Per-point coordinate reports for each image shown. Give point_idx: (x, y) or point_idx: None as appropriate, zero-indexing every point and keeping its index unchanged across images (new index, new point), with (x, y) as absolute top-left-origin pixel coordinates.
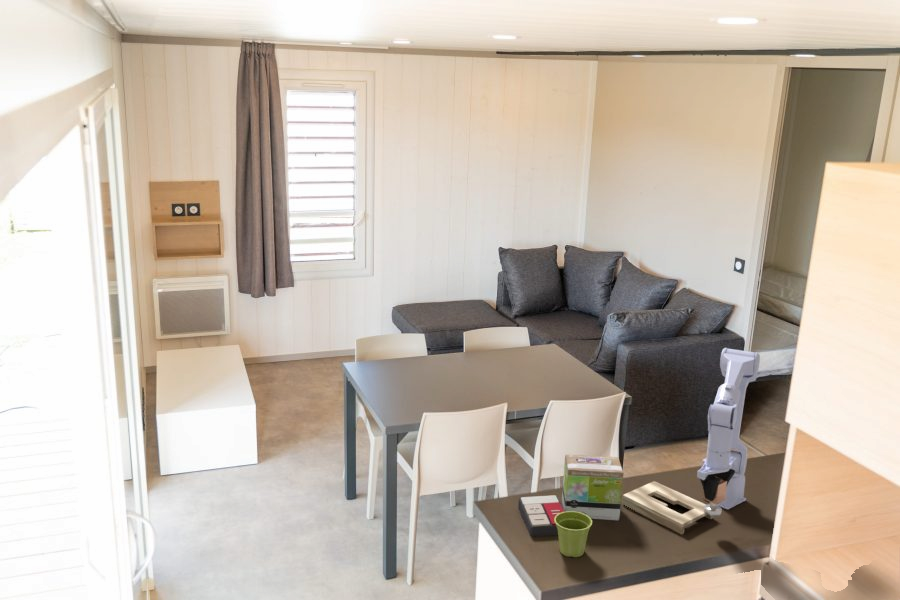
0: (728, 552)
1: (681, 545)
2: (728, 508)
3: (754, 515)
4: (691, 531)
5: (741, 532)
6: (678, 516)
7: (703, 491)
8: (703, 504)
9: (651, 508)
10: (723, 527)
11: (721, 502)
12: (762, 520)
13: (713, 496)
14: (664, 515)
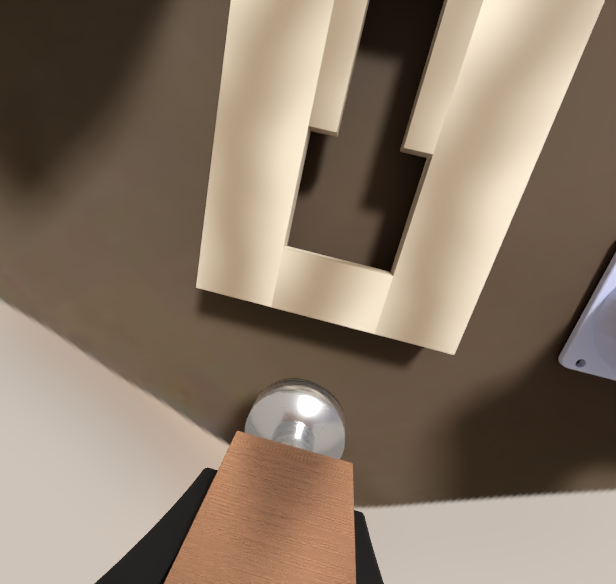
0: (226, 438)
1: (149, 303)
2: (564, 366)
3: (564, 454)
4: None
5: (387, 443)
6: (251, 241)
7: (212, 485)
8: (467, 299)
9: (227, 70)
10: (384, 385)
11: (602, 334)
12: (534, 483)
13: None
14: (210, 175)
